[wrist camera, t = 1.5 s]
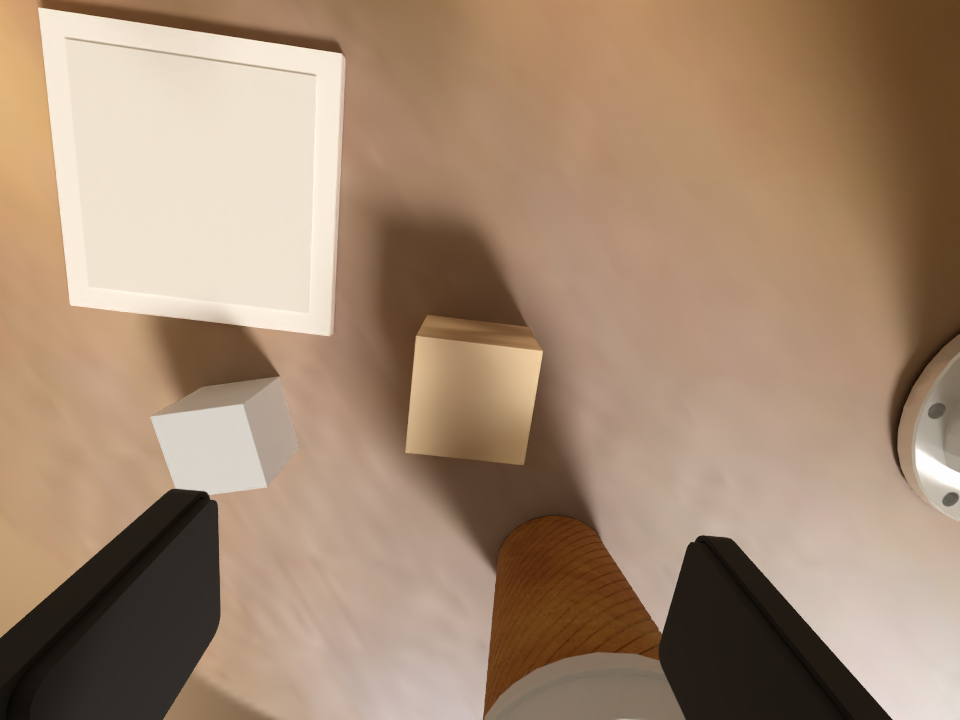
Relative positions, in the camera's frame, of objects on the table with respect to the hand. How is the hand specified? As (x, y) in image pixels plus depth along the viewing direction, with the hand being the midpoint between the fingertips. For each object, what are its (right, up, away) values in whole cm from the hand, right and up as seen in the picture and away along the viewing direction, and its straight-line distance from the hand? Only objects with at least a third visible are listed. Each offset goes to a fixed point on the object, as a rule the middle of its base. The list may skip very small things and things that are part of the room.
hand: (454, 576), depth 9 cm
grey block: (-11, +1, +15) cm, 19 cm away
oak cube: (0, +4, +14) cm, 15 cm away
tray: (-12, +12, +12) cm, 20 cm away
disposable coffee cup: (+5, -7, +18) cm, 20 cm away
